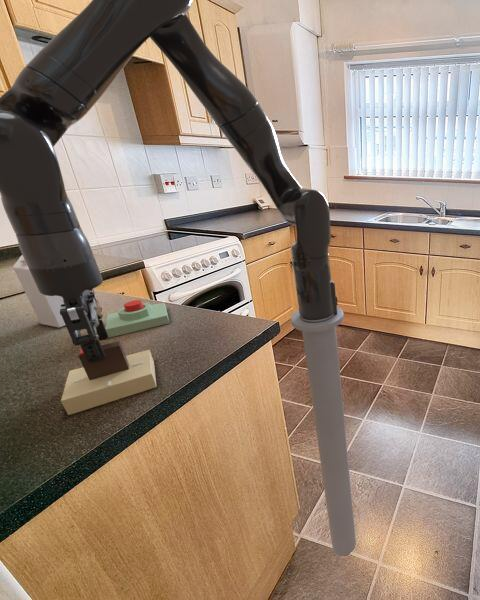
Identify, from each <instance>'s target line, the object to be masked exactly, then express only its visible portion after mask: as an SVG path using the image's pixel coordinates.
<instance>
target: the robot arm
mask: <svg viewBox="0 0 480 600" xmlns="http://www.w3.org/2000/svg"><path fill="white" fill-rule="evenodd" d="M193 1H194V0H91V1H90V2H89V3H88V4H87V6H86V7H85V8H84V9H83V10H82V11H81V12H80V13H78V14H77V15H76V16H75V17H74V19H72V20H71V21H70V22H69V23H67V25H66V26H65V27H64V28H62V29H61V30H60V31H59V32H58V33H57V34H56V35H54V37H53V38H51V40H49V41H48V43H46V44H44V46H43V47H42V48H41V49H40V50H39V51H38V53H36V54H35V55H34V57H32V58H31V60H30V61H28V62H27V64H26V65H25V66H24V67H23V68H22V69H21V71H20V72H19V74H18V75H17V76H16V79H14V82H13V84H12V85H11V87H10V88H9V89H8V90H7V91H5V92H4V93H3V94H2V95H1V96H0V200H1V203H2V206H3V209H4V212H5V214H6V217H7V220H8V222H9V223H10V225H11V228H12V230H13V232H14V234H15V236H16V240H17V244H18V248H19V250H20V254H21V256H22V255H23V257H24V259H25V261H26V264H27V266H28V268H29V270H30V272H31V274H32V277H33V279H34V281H35V283H36V285H37V287H38V290H39V292H40V293H41V294H43V295H47V296H61V297H62V298H63V302H64V304H61V309H60V315H62V318H63V320H64V322H65V327H66V329H67V331H68V334H69V336H70V338H71V343H72V345H74V346H75V347H77V346H80V349H82V350H83V352H84V355H85V357H86V359H87V361H88V363H95V362H99V361H103V360H104V359H105V353H104V351H103V348H102V346H101V345H102V344H101V341H105V340H108V339H109V338H108V333H107V331H106V328H105V327H106V325H105V324H104V321H103V317H104V316H103V313H102V312H103V308H102V307H101V304H100V302H99V300H98V297H97V295H96V292H95V288H97V287H100V285H102V284H103V281H104V279H103V276H102V274H101V271H100V268H99V266H98V263H97V261H96V259H95V258H96V257H95V255H94V252H93V249H92V247H91V244H90V242H89V240H88V238H87V236H86V235H85V233H84V231H83V229H82V227H81V225H80V222H79V219H78V216H77V213H76V211H75V208H74V206H73V204H72V202H71V200H70V198H69V196H68V193H67V190H66V187H65V181H64V177H63V173H62V171H61V167H60V163H59V159H58V156H57V153H56V151H55V148H54V147H55V145H56V144H57V143H58V142H59V141H60V140H61V138H62V136H64V135H65V134H66V133H67V131H68V130H69V129H70V128H71V127H72V126H73V125H75V124H77V123H78V122H79V121H80V120H82V119H83V118H84V117H85V116H86V115H87V114H88V113H89V112H90V111H91V110H92V108H93V107H94V106H95V105H96V103H98V102H99V100H100V99H101V98H102V96H104V94H105V93H106V92H107V90H109V88H110V86H111V85H112V84H113V82H115V79H116V78H117V77H118V76H119V74H120V73H121V72H122V70H123V69H124V68H125V66H126V65H127V63H128V62H129V61H130V60H131V59H132V57H133V56H134V55H135V53H137V51H138V50H139V49H140V48H141V47H142V46H143V44H144V43H146V41H147V40H148V39H151V41H152V42H153V43H154V44H155V45H156V47H157V48H158V49H159V50H160V51H161V52H162V53H163V55H164V56H165V57H166V59H168V60H169V62H170V63H171V64H172V66H173V67H174V68H175V69H176V71H177V72H178V73H179V75H180V76H181V77H182V80H184V82H185V83H186V84H187V86H188V87H189V89H190V91H192V93H193V95H194V96H195V97H196V98H197V100H198V101H199V103H200V104H201V105H202V107H203V108H204V109H205V110H206V112H207V113H208V115H209V116H210V117H211V119H212V120H213V122H214V123H215V125H216V126H217V127H218V129H219V130H220V131H221V133H222V134H223V136H224V137H225V138H226V140H227V141H228V142H229V144H230V145H231V146H232V147H233V149H234V150H235V151H236V153H237V154H238V155H239V156H240V158H241V159H242V160H243V162H244V163H245V164H246V165H247V167H248V168H249V169H250V170H251V172H252V173H253V174H254V175H255V177H256V178H257V180H258V181H259V182H260V183H261V185H262V186H263V188H264V189H265V191H266V193H267V194H268V195H269V196H268V197H270V199H271V201H272V203H273V204H274V206H275V208H276V210H277V211H278V212H279V214H280V215H281V217H282V219H284V221H286V222H287V223H288V224H290V225H291V226H293V227H295V231H296V232H295V233H296V234H295V235H296V241H294V242H293V243H291V244H290V256H291V263H292V268H293V276H294V284H295V291H296V297H297V305H298V306H297V307H298V310H299V313H300V314H299V316H300V319H301V320H302V321H304V322H309V323H318V322H323V321H327V320H329V319H331V318H332V317H333V316H335V315H337V307H338V305H339V304H338V296H337V295H336V294H337V293H336V284H335V282H334V281H333V280H332V271H331V262H330V250H329V249H330V248H329V247H330V245H331V240H332V238H331V237H332V235H331V233H332V232H331V214H330V207H329V203H328V201H327V198H326V197H325V195H324V194H323V192H320V191H319V190H317V189H312V188H304V187H303V186H302V185H300V183H299V182H298V181H297V180H296V178H295V177H294V175H293V174H292V172H291V171H290V169H289V168H288V166H287V165H286V163H285V161H284V158H283V155H282V150H281V147H280V143H279V140H278V135H277V133H276V130H275V129H274V126H273V123H272V122H271V120H270V118H269V117H268V115H267V114H266V112H265V111H264V108H262V105H261V104H260V103H259V101H258V99H257V98H256V97H255V95H254V94H253V92H252V91H251V90H250V89H249V87H247V86H246V85H245V83H244V82H243V81H241V79H240V78H238V77H237V76H236V75H235V74H234V72H232V71H231V70H230V69H229V68H228V67H227V66H226V65H224V64H223V63H222V61H220V60H219V59H218V58H217V57H216V55H214V53H213V52H212V51H211V49H210V48H209V47H208V46H207V45H206V43H205V42H204V40H203V39H202V37H201V36H200V34H199V33H198V31H197V29H196V28H195V26H194V25H193V23H192V21H191V20H190V17H189V16H188V15H187V14H188V12H189V11H190V9H191V7H192V5H193ZM82 330H86V332H87V334H84V335H82V334H81V331H82Z"/></svg>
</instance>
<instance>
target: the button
mask: <svg viewBox="0 0 480 600" xmlns="http://www.w3.org/2000/svg"><path fill="white" fill-rule="evenodd" d="M143 303H144V302H143V301H142V300H140V299H136V300H130V301H126V302H125V303H124V304H123V307H125V310H126V312H133V311H138V310H141V309H143V308H144V306H143Z"/></svg>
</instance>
